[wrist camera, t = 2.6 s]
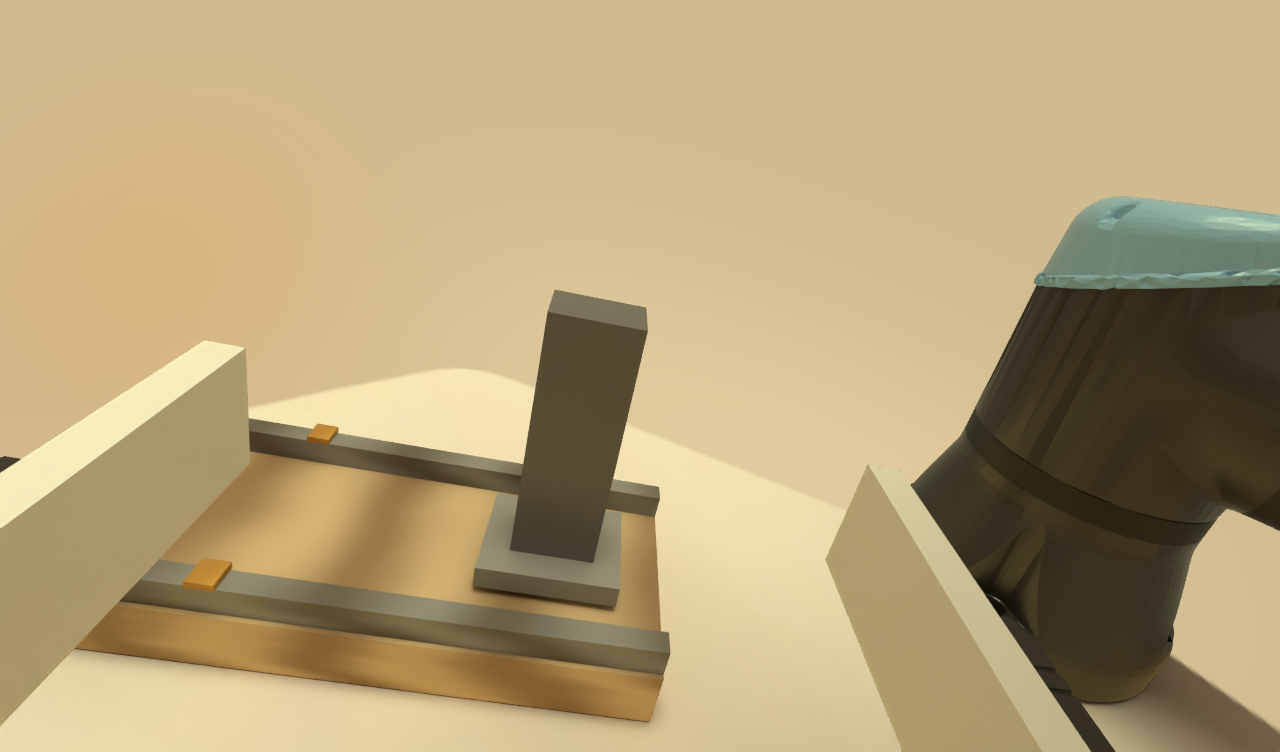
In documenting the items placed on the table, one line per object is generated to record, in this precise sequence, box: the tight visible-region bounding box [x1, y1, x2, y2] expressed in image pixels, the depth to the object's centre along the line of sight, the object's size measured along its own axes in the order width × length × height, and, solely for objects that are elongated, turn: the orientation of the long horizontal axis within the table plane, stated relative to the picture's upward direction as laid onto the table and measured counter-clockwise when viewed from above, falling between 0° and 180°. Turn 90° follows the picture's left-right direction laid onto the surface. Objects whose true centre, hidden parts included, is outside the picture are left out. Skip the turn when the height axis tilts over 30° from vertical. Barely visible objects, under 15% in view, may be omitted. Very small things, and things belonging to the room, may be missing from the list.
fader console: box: [75, 418, 670, 722], centre depth 29 cm, size 24×11×4 cm, turn 91°
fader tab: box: [472, 290, 648, 607], centre depth 26 cm, size 6×5×12 cm
